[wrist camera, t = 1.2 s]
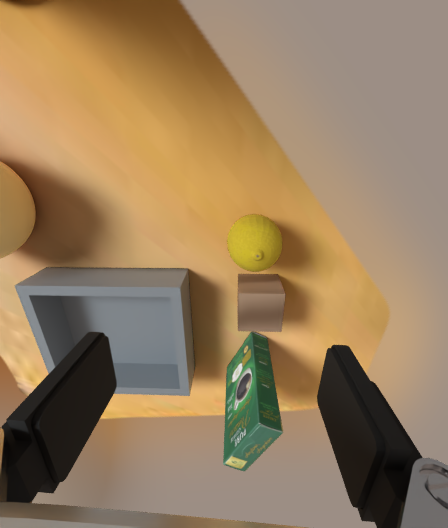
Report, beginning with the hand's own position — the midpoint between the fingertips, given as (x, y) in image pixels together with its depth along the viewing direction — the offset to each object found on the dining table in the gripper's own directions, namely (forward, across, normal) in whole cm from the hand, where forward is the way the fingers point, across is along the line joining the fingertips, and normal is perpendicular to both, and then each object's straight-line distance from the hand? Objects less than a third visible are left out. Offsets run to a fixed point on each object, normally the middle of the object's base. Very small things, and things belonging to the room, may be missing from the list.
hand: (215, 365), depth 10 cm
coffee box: (+21, -3, +17) cm, 27 cm away
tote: (+20, +14, +12) cm, 28 cm away
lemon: (+20, -2, -1) cm, 20 cm away
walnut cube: (+20, -4, +7) cm, 22 cm away
